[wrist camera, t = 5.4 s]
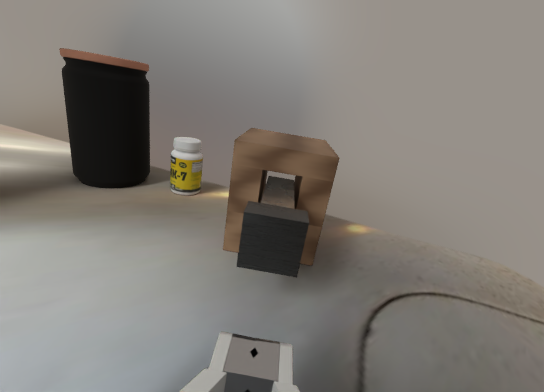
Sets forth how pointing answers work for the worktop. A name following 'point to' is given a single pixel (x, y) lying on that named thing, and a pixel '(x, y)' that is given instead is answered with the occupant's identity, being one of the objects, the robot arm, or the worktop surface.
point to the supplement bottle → (186, 166)
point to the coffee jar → (107, 118)
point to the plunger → (273, 231)
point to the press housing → (284, 159)
